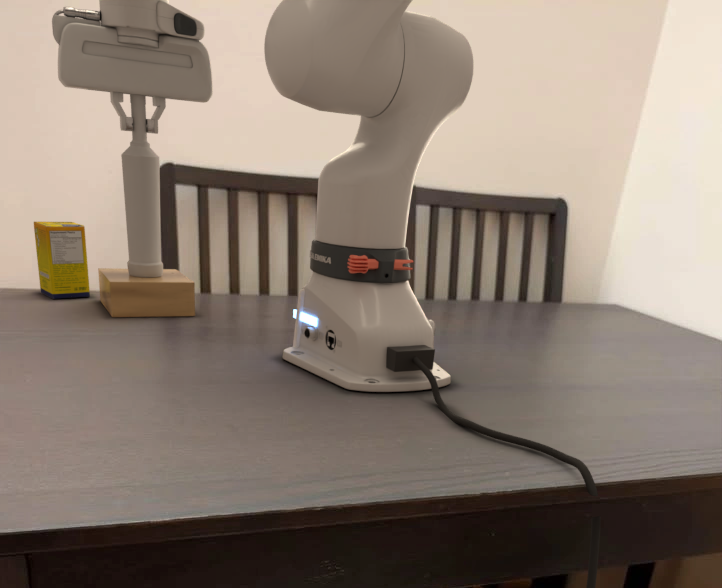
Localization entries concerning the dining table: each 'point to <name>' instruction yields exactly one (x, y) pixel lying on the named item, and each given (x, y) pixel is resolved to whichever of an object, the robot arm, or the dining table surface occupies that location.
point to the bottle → (142, 197)
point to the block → (146, 294)
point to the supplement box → (62, 259)
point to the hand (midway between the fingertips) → (139, 132)
